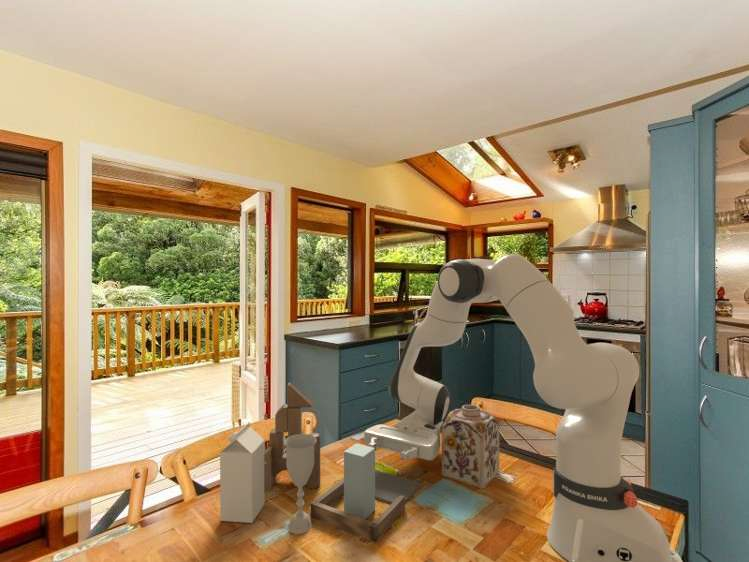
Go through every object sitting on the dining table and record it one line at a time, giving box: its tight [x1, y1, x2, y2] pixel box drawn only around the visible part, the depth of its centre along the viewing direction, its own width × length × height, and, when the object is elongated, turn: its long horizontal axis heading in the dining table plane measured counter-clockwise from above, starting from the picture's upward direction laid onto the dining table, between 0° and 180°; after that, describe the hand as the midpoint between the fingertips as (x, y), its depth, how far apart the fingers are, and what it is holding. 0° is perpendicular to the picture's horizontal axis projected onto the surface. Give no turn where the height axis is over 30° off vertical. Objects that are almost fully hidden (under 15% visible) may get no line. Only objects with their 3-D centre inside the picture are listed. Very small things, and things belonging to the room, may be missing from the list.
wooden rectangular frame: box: [310, 478, 406, 544], centre depth 88 cm, size 16×13×3 cm
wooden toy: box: [264, 382, 321, 491], centre depth 101 cm, size 16×7×25 cm, turn 94°
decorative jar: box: [441, 404, 500, 490], centre depth 106 cm, size 12×12×18 cm
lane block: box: [343, 442, 376, 520], centre depth 89 cm, size 5×5×14 cm
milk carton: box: [219, 422, 265, 524], centre depth 88 cm, size 7×7×19 cm
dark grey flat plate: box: [375, 469, 422, 505], centre depth 99 cm, size 14×11×1 cm
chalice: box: [284, 433, 317, 535], centre depth 84 cm, size 7×7×18 cm
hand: (386, 452), depth 99 cm, fingers open, 8 cm apart
